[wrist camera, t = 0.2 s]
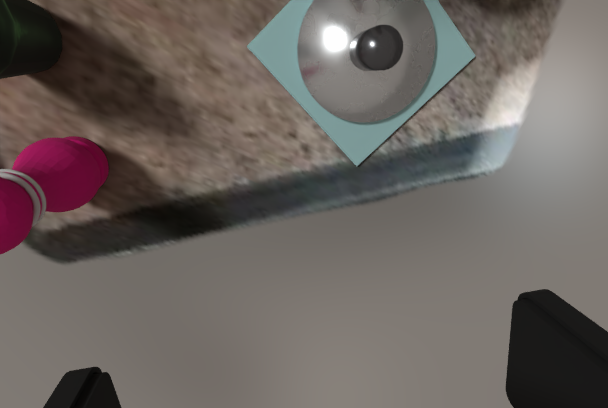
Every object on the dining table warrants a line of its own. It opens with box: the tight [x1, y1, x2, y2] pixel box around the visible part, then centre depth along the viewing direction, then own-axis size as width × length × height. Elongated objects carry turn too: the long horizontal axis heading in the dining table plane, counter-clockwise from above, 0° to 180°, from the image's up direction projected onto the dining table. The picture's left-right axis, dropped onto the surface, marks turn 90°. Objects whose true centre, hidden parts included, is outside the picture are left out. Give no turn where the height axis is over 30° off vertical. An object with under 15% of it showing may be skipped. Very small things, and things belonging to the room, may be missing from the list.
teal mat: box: [247, 0, 475, 166], centre depth 41 cm, size 18×18×1 cm
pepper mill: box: [0, 137, 109, 254], centre depth 32 cm, size 7×7×20 cm
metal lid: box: [297, 0, 435, 123], centre depth 38 cm, size 15×15×6 cm
